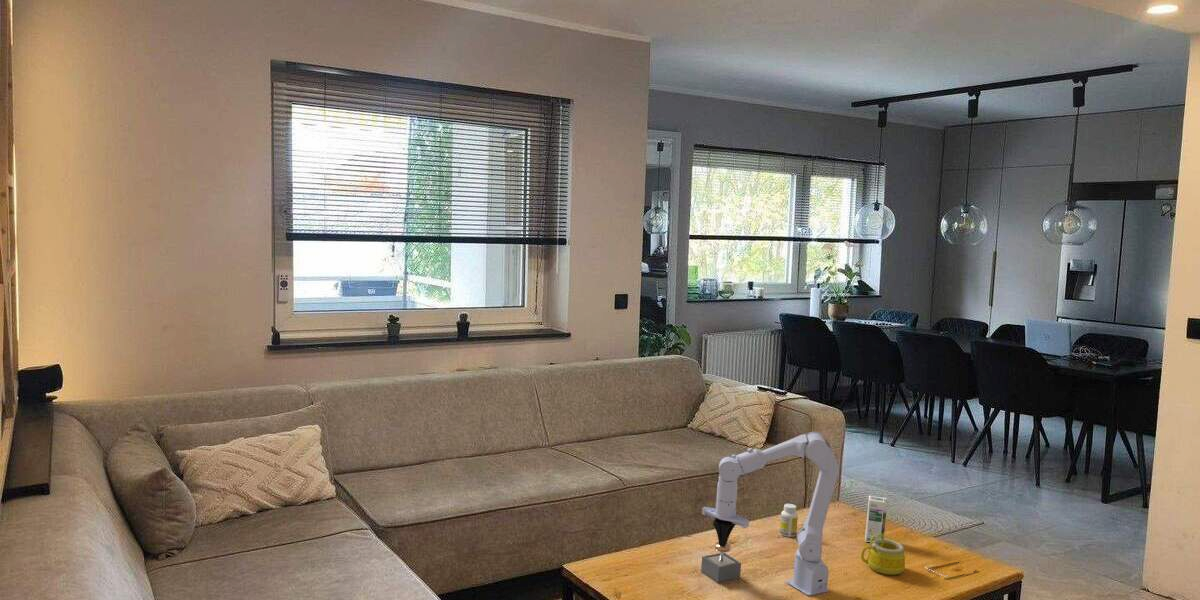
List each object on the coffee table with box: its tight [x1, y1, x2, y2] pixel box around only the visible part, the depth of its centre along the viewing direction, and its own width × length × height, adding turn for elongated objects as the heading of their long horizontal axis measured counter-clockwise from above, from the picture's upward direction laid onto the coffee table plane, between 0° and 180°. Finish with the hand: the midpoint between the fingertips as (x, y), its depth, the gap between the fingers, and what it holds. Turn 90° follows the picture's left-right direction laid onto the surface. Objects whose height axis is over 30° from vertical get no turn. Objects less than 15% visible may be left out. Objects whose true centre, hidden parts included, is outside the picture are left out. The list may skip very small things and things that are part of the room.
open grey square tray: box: [700, 552, 742, 584], centre depth 245 cm, size 8×8×5 cm
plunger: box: [708, 541, 736, 566], centre depth 245 cm, size 6×6×5 cm
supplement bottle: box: [779, 503, 799, 538], centre depth 280 cm, size 5×5×10 cm
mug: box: [860, 529, 906, 576], centre depth 256 cm, size 13×11×12 cm
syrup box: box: [864, 495, 888, 543], centre depth 278 cm, size 6×6×14 cm
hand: (722, 544), depth 244 cm, fingers closed
